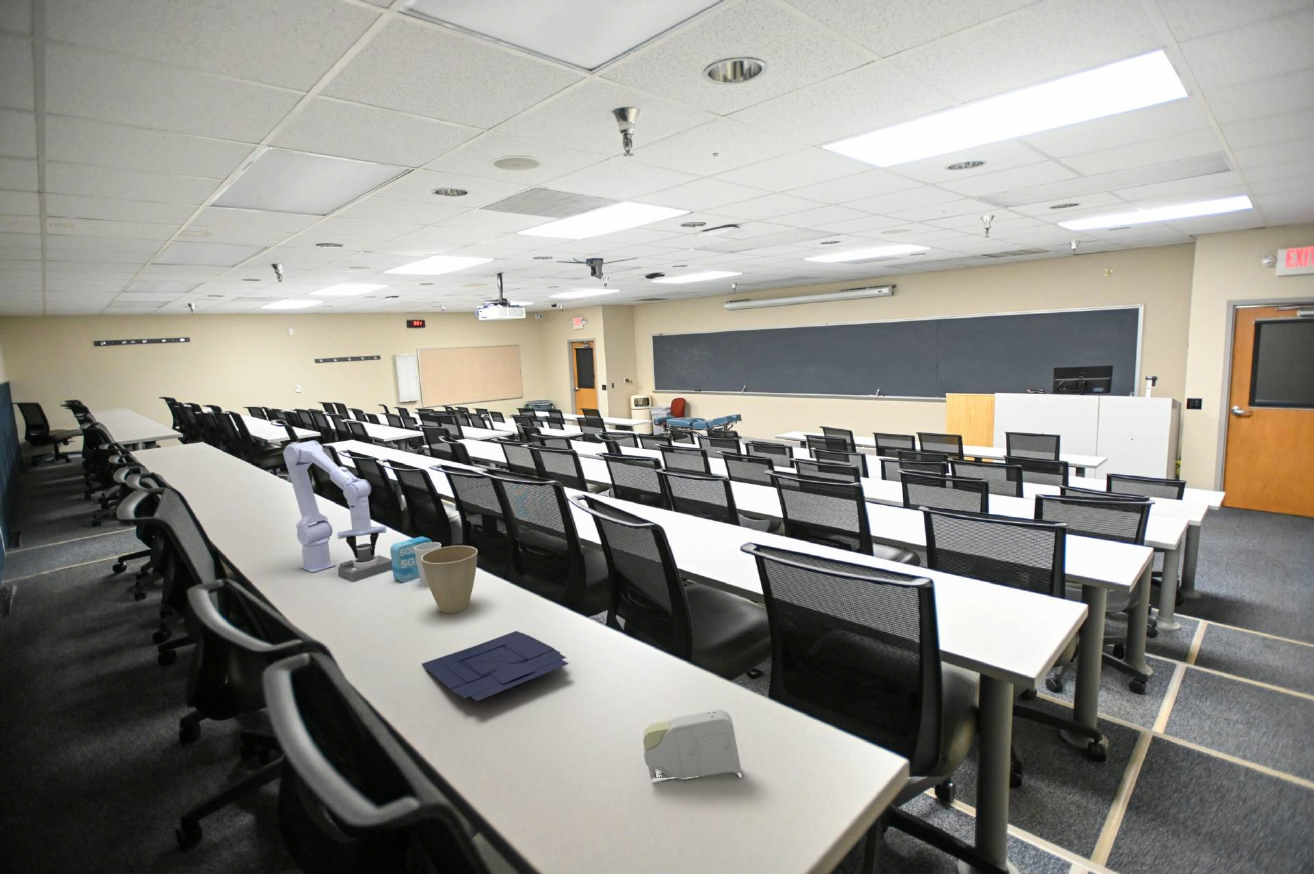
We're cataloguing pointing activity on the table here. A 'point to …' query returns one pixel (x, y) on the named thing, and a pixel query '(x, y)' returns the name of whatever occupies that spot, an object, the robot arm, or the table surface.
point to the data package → (406, 559)
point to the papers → (495, 665)
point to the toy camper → (692, 746)
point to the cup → (419, 552)
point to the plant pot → (451, 576)
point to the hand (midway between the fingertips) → (365, 556)
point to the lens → (364, 553)
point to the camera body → (364, 568)
